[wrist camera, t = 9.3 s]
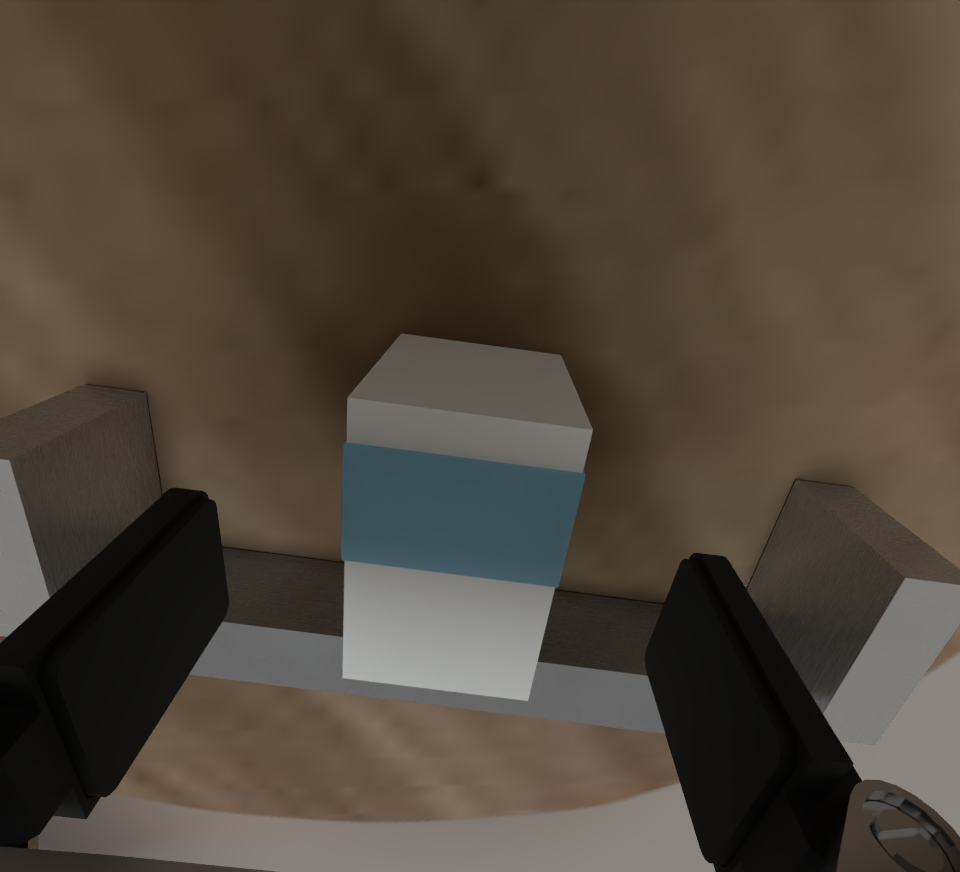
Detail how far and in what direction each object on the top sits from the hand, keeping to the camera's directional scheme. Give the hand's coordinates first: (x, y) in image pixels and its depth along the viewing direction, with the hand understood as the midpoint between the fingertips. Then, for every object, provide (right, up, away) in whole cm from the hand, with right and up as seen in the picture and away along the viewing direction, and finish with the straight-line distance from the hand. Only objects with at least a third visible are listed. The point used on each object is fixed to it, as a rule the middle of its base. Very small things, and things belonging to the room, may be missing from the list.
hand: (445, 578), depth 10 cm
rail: (0, -1, +8) cm, 8 cm away
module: (0, +2, +7) cm, 7 cm away
